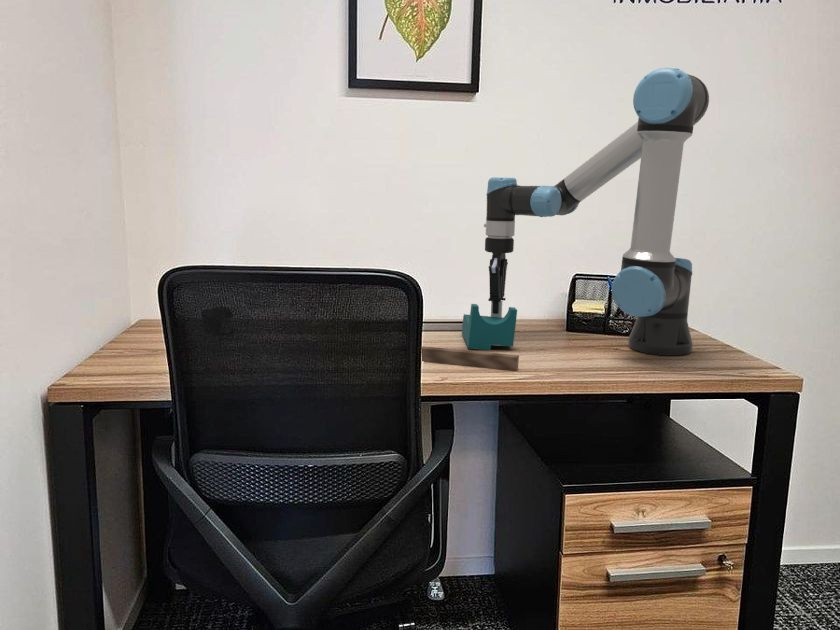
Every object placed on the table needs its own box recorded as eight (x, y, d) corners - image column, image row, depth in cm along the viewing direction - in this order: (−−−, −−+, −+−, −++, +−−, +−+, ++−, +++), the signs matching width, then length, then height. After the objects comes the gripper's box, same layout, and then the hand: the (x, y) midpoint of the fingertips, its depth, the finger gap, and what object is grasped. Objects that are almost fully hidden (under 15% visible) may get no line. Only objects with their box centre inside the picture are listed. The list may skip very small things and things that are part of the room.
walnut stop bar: (518, 368, 152) (518, 355, 151) (516, 370, 150) (517, 357, 149) (422, 359, 158) (422, 346, 157) (419, 361, 156) (420, 348, 156)
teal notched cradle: (512, 352, 168) (517, 310, 166) (468, 348, 168) (472, 306, 166) (501, 336, 186) (506, 297, 184) (461, 332, 185) (465, 294, 183)
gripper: (491, 234, 189) (487, 319, 194) (479, 238, 177) (476, 328, 181) (518, 236, 187) (514, 321, 191) (508, 239, 175) (504, 330, 179)
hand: (495, 324), depth 186 cm, fingers closed
